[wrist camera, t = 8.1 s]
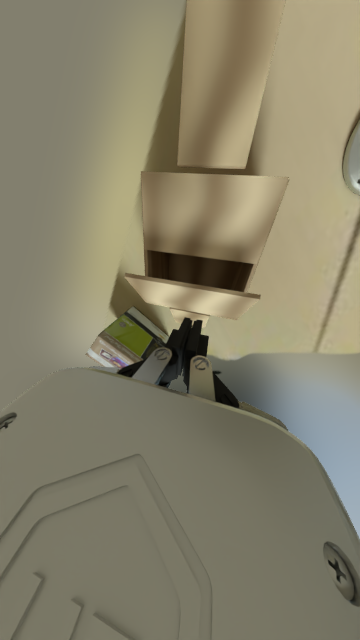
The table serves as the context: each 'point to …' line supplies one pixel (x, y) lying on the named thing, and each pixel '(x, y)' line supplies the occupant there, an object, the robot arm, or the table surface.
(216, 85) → the near flap
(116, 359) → the tea box
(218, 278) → the carton
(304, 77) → the table surface
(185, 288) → the far flap
